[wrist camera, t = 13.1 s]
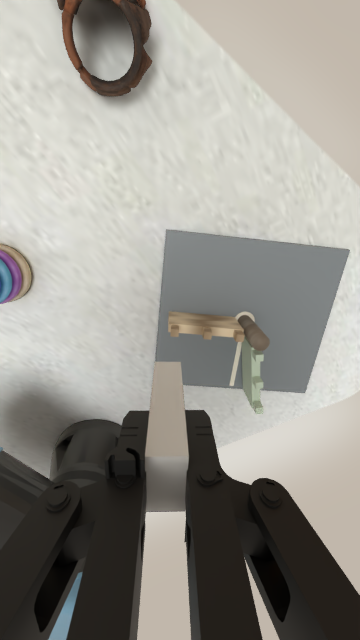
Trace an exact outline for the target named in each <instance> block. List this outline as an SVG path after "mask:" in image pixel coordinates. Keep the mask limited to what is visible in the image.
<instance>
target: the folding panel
mask: <svg viewBox="0 0 360 640" xmlns="http://www.w3.org/2000/svg"><path fill="white" fill-rule="evenodd" d="M263 359H264V354H263V353H262V352H261V351H257V350H255V349H254V348H253V347H252V345H251V344H250V342H249V341H248V339H247V338H246V336H244V341H243V342H242V377H243V389H244V392H245V394H246V396H247V398H248V401H249V403H250V405H251V407H252V408H254V411H255V413H256V414H261V413H263V406H262V404H261V402H260V389H262V388H263V381H262V379H261V377H260V362H261V361H263Z"/></svg>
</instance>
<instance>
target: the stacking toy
mask: <svg viewBox="0 0 360 640" xmlns="http://www.w3.org/2000/svg"><path fill="white" fill-rule="evenodd" d="M30 284H31V271H30V268H29V266H28V263H27V262H26V260H25V259H24V258H23V257H22V255H21V254H19V253H18V252H17V251H16V250H14V249H12V248H10V247H8V246H5V245H2V244H0V304H3V303H6V302H11V301H15V300H17V299H19V298H21V297H22V296H24V295H25V293H26V292H27V291H28V289H29V287H30Z"/></svg>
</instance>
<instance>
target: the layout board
mask: <svg viewBox="0 0 360 640" xmlns="http://www.w3.org/2000/svg"><path fill="white" fill-rule="evenodd" d="M349 251H350V250H347V249H338V248H328V247H319V246H310V245H301V244H292V243H283V242H274V241H265V240H256V239H247V238H238V237H229V236H220V235H211V234H201V233H192V232H183V231H174V230H166V239H165V251H164V263H163V275H162V287H161V299H160V311H159V323H158V335H157V348H156V360H155V362H181V371H182V383H183V385H193V386H208V387H222V388H237V389H243V377H242V342H236V341H235V340H234V338H233V337H222V336H212V338H211V340H209V339H203V336H202V335H198V334H186V333H179V336H178V337H171V334H170V332H168V316H169V311H172V312H184V313H195V314H207V315H218V316H229V317H235V318H236V320H238V318H239V317H240V316H242V315H248V316H249V317H250V318H251V319H252V320H253V321H254V322H255V323H256V324H257V326H258V327H259V328H260V329H261V330H262V331H263V332H264V334H265V335H266V336H267V337H268V338H269V340H270V344H269V346H268V348H267V349H265V350H263V351H261V352H262V353H263V354H264V359H263V361H261V362H260V377H261V379H262V381H263V388H262V389H260V390H267V391H282V392H297V393H305V391H306V388H307V385H308V382H309V378H310V375H311V372H312V369H313V366H314V363H315V359H316V356H317V353H318V350H319V347H320V343H321V340H322V337H323V334H324V331H325V328H326V324H327V321H328V318H329V315H330V312H331V309H332V305H333V302H334V299H335V296H336V293H337V290H338V286H339V283H340V280H341V277H342V274H343V270H344V267H345V264H346V261H347V258H348V255H349Z"/></svg>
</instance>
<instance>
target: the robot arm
mask: <svg viewBox="0 0 360 640" xmlns="http://www.w3.org/2000/svg"><path fill="white" fill-rule="evenodd" d="M185 510H186V528H185V542H186V547H187V566H188V586H189V605H190V624H191V640H262V635H261V631H260V626H259V622H258V617H257V613H256V608H255V604H254V599H253V595H252V590H251V586H250V581H249V577H248V573H247V568H246V563H245V560H246V562H247V564H248V567H249V569H250V571H251V573H252V576H253V578H254V581H255V583H256V585H257V588H258V590H259V592H260V594H261V597H262V599H263V602H264V604H265V606H266V609H267V611H268V613H269V616H270V618H271V620H272V623H273V625H274V627H275V630H276V632H277V634H278V637H279V639H280V640H360V595H359V594H358V593H357V591H356V590H355V588H354V587H353V585H352V584H351V582H350V581H349V580H348V578H347V577H346V575H345V574H344V572H343V571H342V569H341V568H340V567H339V565H338V564H337V562H336V561H335V559H334V558H333V556H332V555H331V553H330V552H329V551H328V549H327V548H326V546H325V545H324V543H323V542H322V540H321V539H320V538H319V536H318V535H317V533H316V532H315V530H314V529H313V527H312V526H311V525H310V523H309V522H308V520H307V519H306V517H305V516H304V515H303V513H302V512H301V510H300V509H299V507H298V506H297V504H296V503H295V502H294V500H293V499H292V497H291V496H290V494H289V493H288V491H287V490H286V489H285V488H284V487H283V486H282V485H281V484H279V483H278V482H276V481H274V480H271V479H268V478H259V479H257V480H255V481H254V482H253V483H252V485H249V484H246V483H242V482H239V481H237V480H234V479H232V478H231V477H229V476H228V475H227V474H226V473H225V472H224V471H223V469H222V468H221V466H220V463H219V458H218V454H217V449H216V444H215V439H214V436H213V430H212V425H211V421H210V417H209V416H208V415H207V413H206V412H205V411H204V410H185V406H184V394H183V383H182V371H181V362H155V364H154V373H153V383H152V393H151V402H150V411H129V412H128V414H127V415H126V416H125V417H124V419H123V423H122V426H120V425H118V424H115V423H113V422H109V421H104V420H87V421H82V422H79V423H76V424H74V425H72V426H70V427H69V428H67V429H66V430H65V431H64V432H63V433H62V434H61V436H60V437H59V439H58V441H57V443H56V445H55V447H54V450H53V453H52V459H51V469H50V478H49V479H48V478H46V477H45V476H43V475H41V474H40V473H38V472H36V471H35V470H33V469H31V468H30V467H28V466H27V465H25V464H23V463H22V462H20V461H19V460H17V459H15V458H14V457H12V456H11V455H9V454H8V453H6V452H4V451H3V448H2V447H0V640H137V630H138V617H139V605H140V590H141V577H142V565H143V551H144V538H145V514H146V512H169V511H171V512H172V511H185ZM244 557H245V559H244Z"/></svg>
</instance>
